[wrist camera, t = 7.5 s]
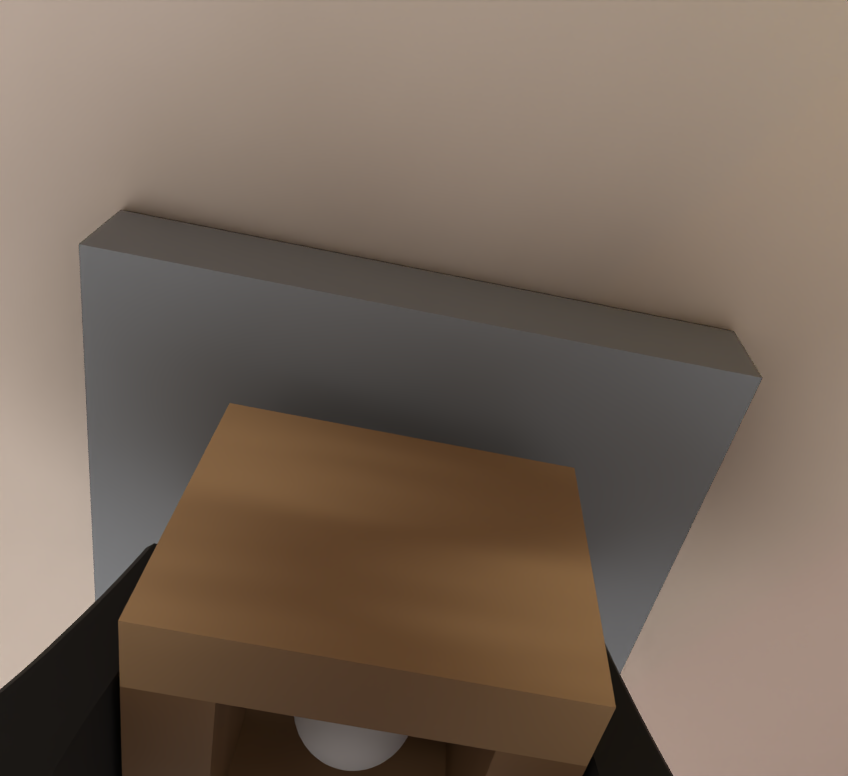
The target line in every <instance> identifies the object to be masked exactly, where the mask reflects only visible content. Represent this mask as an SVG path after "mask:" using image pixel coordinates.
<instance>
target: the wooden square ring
mask: <svg viewBox="0 0 848 776" xmlns="http://www.w3.org/2000/svg"><path fill="white" fill-rule="evenodd" d="M118 632H119V672H120V712H121V752H122V776H583V774H584V772H585V770H586V768H587V765H588V763H589V761H590V759H591V757H592V755H593V753H594V751H595V749H596V747H597V745H598V743H599V741H600V739H601V737H602V735H603V733H604V731H605V729H606V727H607V725H608V723H609V721H610V719H611V717H612V715H613V713H614V711H615V709H616V705H615V699H614V693H613V687H612V682H611V676H610V670H609V664H608V659H607V653H606V647H605V641H604V636H603V630H602V624H601V618H600V612H599V607H598V601H597V595H596V589H595V584H594V578H593V572H592V566H591V561H590V555H589V549H588V543H587V538H586V532H585V526H584V520H583V515H582V509H581V503H580V497H579V491H578V486H577V480H576V474H575V468H572V467H567V466H561V465H556V464H551V463H546V462H540V461H535V460H530V459H524V458H519V457H514V456H508V455H503V454H498V453H492V452H487V451H482V450H477V449H471V448H466V447H461V446H455V445H450V444H445V443H439V442H434V441H429V440H423V439H418V438H413V437H408V436H402V435H397V434H392V433H386V432H381V431H376V430H370V429H365V428H360V427H354V426H349V425H344V424H339V423H333V422H328V421H323V420H317V419H312V418H307V417H301V416H296V415H291V414H285V413H280V412H275V411H270V410H264V409H259V408H254V407H248V406H243V405H238V404H232V403H229V405H228V407H227V409H226V411H225V413H224V415H223V417H222V419H221V421H220V423H219V425H218V427H217V429H216V430H215V432H214V434H213V436H212V438H211V440H210V442H209V444H208V446H207V448H206V450H205V452H204V454H203V456H202V458H201V460H200V462H199V464H198V466H197V468H196V470H195V472H194V473H193V475H192V477H191V479H190V481H189V483H188V485H187V487H186V489H185V491H184V493H183V495H182V497H181V499H180V501H179V503H178V505H177V507H176V509H175V511H174V513H173V515H172V516H171V518H170V520H169V522H168V524H167V526H166V528H165V530H164V532H163V534H162V536H161V538H160V540H159V542H158V544H157V546H156V548H155V550H154V552H153V554H152V556H151V558H150V559H149V561H148V563H147V565H146V567H145V569H144V571H143V573H142V575H141V577H140V579H139V581H138V583H137V585H136V587H135V589H134V591H133V593H132V595H131V597H130V599H129V601H128V603H127V604H126V606H125V608H124V610H123V612H122V614H121V616H120V618H119V620H118ZM294 716H295V717H301V718H307V719H313V720H319V721H325V722H331V723H336V724H342V725H348V726H354V727H360V728H366V729H371V730H377V731H383V732H389V733H395V734H401V735H407V736H408V737H407V739H406V740H405V742H404V743H403V745H402V746H401V748H400V749H399V750H398V751H397V752H396V753H395V754H394V755H393V756H392V757H390V758H389V759H388V760H386V761H385V762H383V763H381V764H380V765H377V766H375V767H372V768H369V769H366V770H359V771H346V770H340V769H337V768H334V767H331V766H329V765H326V764H325V763H323V762H321V761H320V760H319V759H317V758H316V757H315V756H314V755H313V754H312V753H311V752H310V751H309V750H308V749H307V747H306V746H305V745H304V743H303V741H302V740H301V738H300V736H299V734H298V731H297V728H296V725H295V720H294Z"/></svg>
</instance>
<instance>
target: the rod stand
mask: <svg viewBox="0 0 848 776" xmlns="http://www.w3.org/2000/svg"><path fill="white" fill-rule="evenodd" d="M79 257H80V279H81V300H82V322H83V343H84V365H85V387H86V408H87V430H88V452H89V473H90V495H91V517H92V538H93V560H94V582H95V601H96V600H97V599H98V598H99V597H100V596H101V595H102V594H103V593H104V592H105V591H106V590H107V589H108V588H109V587H110V586H111V585H112V584H113V583H114V582H115V581H116V580H117V579H118V578H119V577H120V576H121V575H122V573H123V572H124V571H125V570H126V569H127V568H128V567H129V566H130V565H131V564H132V563H133V562H134V561H135V559H136V558H137V557H138V556H139V555H140V554H141V553H142V552H143V550H144V549H145V548H146V547H148V546H150V545H152V544H154V543H156V544H158V542H159V540H160V538H161V536H162V534H163V532H164V530H165V528H166V526H167V524H168V522H169V520H170V518H171V516H172V515H173V513H174V511H175V509H176V507H177V505H178V503H179V501H180V499H181V497H182V495H183V493H184V491H185V489H186V487H187V485H188V483H189V481H190V479H191V477H192V475H193V473H194V472H195V470H196V468H197V466H198V464H199V462H200V460H201V458H202V456H203V454H204V452H205V450H206V448H207V446H208V444H209V442H210V440H211V438H212V436H213V434H214V432H215V430H216V429H217V427H218V425H219V423H220V421H221V419H222V417H223V415H224V413H225V411H226V409H227V407H228V405H229V403H232V404H238V405H243V406H248V407H254V408H259V409H264V410H270V411H275V412H280V413H285V414H291V415H296V416H301V417H307V418H312V419H317V420H323V421H328V422H333V423H339V424H344V425H349V426H354V427H360V428H365V429H370V430H376V431H381V432H386V433H392V434H397V435H402V436H408V437H413V438H418V439H423V440H429V441H434V442H439V443H445V444H450V445H455V446H461V447H466V448H471V449H477V450H482V451H487V452H492V453H498V454H503V455H508V456H514V457H519V458H524V459H530V460H535V461H540V462H546V463H551V464H556V465H561V466H567V467H572V468H575V474H576V480H577V486H578V491H579V497H580V503H581V509H582V515H583V520H584V526H585V532H586V538H587V543H588V549H589V555H590V561H591V566H592V572H593V578H594V584H595V589H596V595H597V601H598V607H599V612H600V618H601V624H602V630H603V636H604V641H605V644H606V646H607V648H608V650H609V652H610V655H611V657H612V659H613V661H614V663H615V665H616V667H617V669H618V671H619V673H621V671H622V669H623V667H624V665H625V663H626V661H627V658H628V656H629V654H630V652H631V650H632V648H633V646H634V644H635V642H636V640H637V638H638V636H639V634H640V631H641V629H642V627H643V625H644V623H645V621H646V619H647V617H648V615H649V613H650V611H651V609H652V607H653V604H654V602H655V600H656V598H657V596H658V594H659V592H660V590H661V588H662V586H663V584H664V582H665V579H666V577H667V575H668V573H669V571H670V569H671V567H672V565H673V563H674V561H675V559H676V557H677V555H678V552H679V550H680V548H681V546H682V544H683V542H684V540H685V538H686V536H687V534H688V532H689V530H690V528H691V525H692V523H693V521H694V519H695V517H696V515H697V513H698V511H699V509H700V507H701V505H702V503H703V500H704V498H705V496H706V494H707V492H708V490H709V488H710V486H711V484H712V482H713V480H714V478H715V476H716V473H717V471H718V469H719V467H720V465H721V463H722V461H723V459H724V457H725V455H726V453H727V451H728V449H729V446H730V444H731V442H732V440H733V438H734V436H735V434H736V432H737V430H738V428H739V426H740V424H741V421H742V419H743V417H744V415H745V413H746V411H747V409H748V407H749V405H750V403H751V401H752V399H753V397H754V394H755V392H756V390H757V388H758V386H759V384H760V382H761V380H762V376H761V375H760V373H759V372H758V370H757V368H756V367H755V365H754V363H753V362H752V360H751V358H750V357H749V355H748V354H747V352H746V350H745V349H744V347H743V345H742V344H741V342H740V341H739V339H738V337H737V336H736V334H735V332H734V331H729V330H724V329H719V328H713V327H708V326H703V325H698V324H693V323H688V322H683V321H678V320H673V319H668V318H663V317H658V316H653V315H648V314H643V313H638V312H633V311H628V310H623V309H618V308H613V307H607V306H602V305H597V304H592V303H587V302H582V301H577V300H572V299H567V298H562V297H557V296H552V295H547V294H542V293H537V292H532V291H527V290H522V289H517V288H512V287H506V286H501V285H496V284H491V283H486V282H481V281H476V280H471V279H466V278H461V277H456V276H451V275H446V274H441V273H436V272H431V271H426V270H421V269H416V268H411V267H406V266H400V265H395V264H390V263H385V262H380V261H375V260H370V259H365V258H360V257H355V256H350V255H345V254H340V253H335V252H330V251H325V250H320V249H315V248H310V247H305V246H300V245H294V244H289V243H284V242H279V241H274V240H269V239H264V238H259V237H254V236H249V235H244V234H239V233H234V232H229V231H224V230H219V229H214V228H209V227H204V226H199V225H194V224H188V223H183V222H178V221H173V220H168V219H163V218H158V217H153V216H148V215H143V214H138V213H133V212H128V211H123V210H120V211H119V212H117V213H116V214H115V215H114V216H113V217H111V218H110V219H109V220H108V221H107V222H105V223H104V224H103V225H102V226H100V227H99V228H98V229H97V230H96V231H94V232H93V233H92V234H91V235H89V236H88V237H87V238H86V239H85V240H83V241H82V242H81V243H80V244H79ZM294 720H295V725H296V728H297V731H298V734H299V736H300V738H301V740H302V741H303V743H304V745H305V746H306V747H307V749H308V750H309V751H310V752H311V753H312V754H313V755H314V756H315V757H316V758H317V759H319V760H320V761H321V762H323V763H325V764H326V765H329V766H331V767H334V768H337V769H340V770H346V771H359V770H366V769H369V768H372V767H375V766H377V765H380V764H381V763H383V762H385V761H386V760H388V759H389V758H390V757H392V756H393V755H394V754H395V753H396V752H397V751H398V750H399V749H400V748H401V746H402V745H403V743H404V742H405V740H406V739H407V737H408V736H407V735H401V734H395V733H389V732H383V731H377V730H371V729H366V728H360V727H354V726H348V725H342V724H336V723H331V722H325V721H319V720H313V719H307V718H301V717H295V716H294Z"/></svg>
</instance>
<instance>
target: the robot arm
mask: <svg viewBox="0 0 848 776" xmlns="http://www.w3.org/2000/svg"><path fill="white" fill-rule="evenodd" d="M156 546H157V544H156V543H154V544H152V545H150V546H148V547H146V548H145V549H144V550H143V552H142V553H141V554H140V555H139V556H138V557H137V558H136V559H135V561H134V562H133V563H132V564H131V565H130V566H129V567H128V568H127V569H126V570H125V571H124V572H123V573H122V575H121V576H120V577H119V578H118V579H117V580H116V581H115V582H114V583H113V584H112V585H111V586H110V587H109V588H108V589H107V590H106V591H105V592H104V593H103V594H102V595H101V596H100V597H99V598H98V599H97V600H96V601H95V602H94V603H93V604H92V605H91V606H90V607H89V608H88V609H87V610H86V611H85V612H84V613H83V614H82V615H81V616H80V617H79V618H78V619H77V620H76V621H75V622H74V623H73V624H72V625H71V626H70V627H69V628H68V629H67V630H66V631H65V632H63V633H62V634H61V635H60V636H59V637H58V638H57V639H56V640H55V641H54V642H53V643H52V644H51V645H50V646H49V647H48V648H47V649H45V650H44V651H43V652H42V653H41V654H40V655H39V656H38V657H37V658H36V659H35V660H34V661H33V662H31V663H30V664H29V665H28V666H27V667H26V668H25V669H24V670H22V671H21V672H20V673H19V674H18V675H17V676H15V677H14V678H13V679H12V680H11V681H10V682H8V683H7V684H6V685H5V686H4V687H3V688H1V689H0V776H122V752H121V712H120V672H119V632H118V620H119V618H120V616H121V614H122V612H123V610H124V608H125V606H126V604H127V603H128V601H129V599H130V597H131V595H132V593H133V591H134V589H135V587H136V585H137V583H138V581H139V579H140V577H141V575H142V573H143V571H144V569H145V567H146V565H147V563H148V561H149V559H150V558H151V556H152V554H153V552H154V550H155V548H156ZM605 647H606V653H607V659H608V664H609V670H610V676H611V682H612V687H613V693H614V699H615V705H616V709H615V711H614V713H613V715H612V717H611V719H610V721H609V723H608V725H607V727H606V729H605V731H604V733H603V735H602V737H601V739H600V741H599V743H598V745H597V747H596V749H595V751H594V753H593V755H592V757H591V759H590V761H589V763H588V765H587V768H586V770H585V772H584V774H583V776H673V774H672V773H671V771H670V769H669V767H668V765H667V764H666V762H665V760H664V758H663V756H662V754H661V753H660V751H659V749H658V747H657V745H656V744H655V742H654V740H653V738H652V736H651V734H650V733H649V731H648V729H647V727H646V725H645V723H644V721H643V719H642V717H641V715H640V713H639V711H638V709H637V707H636V705H635V704H634V702H633V700H632V698H631V696H630V694H629V692H628V690H627V688H626V686H625V684H624V682H623V679H622V677H621V675H620V673H619V671H618V669H617V667H616V665H615V663H614V661H613V659H612V657H611V655H610V652H609V650H608V648H607V646H606V644H605Z"/></svg>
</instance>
